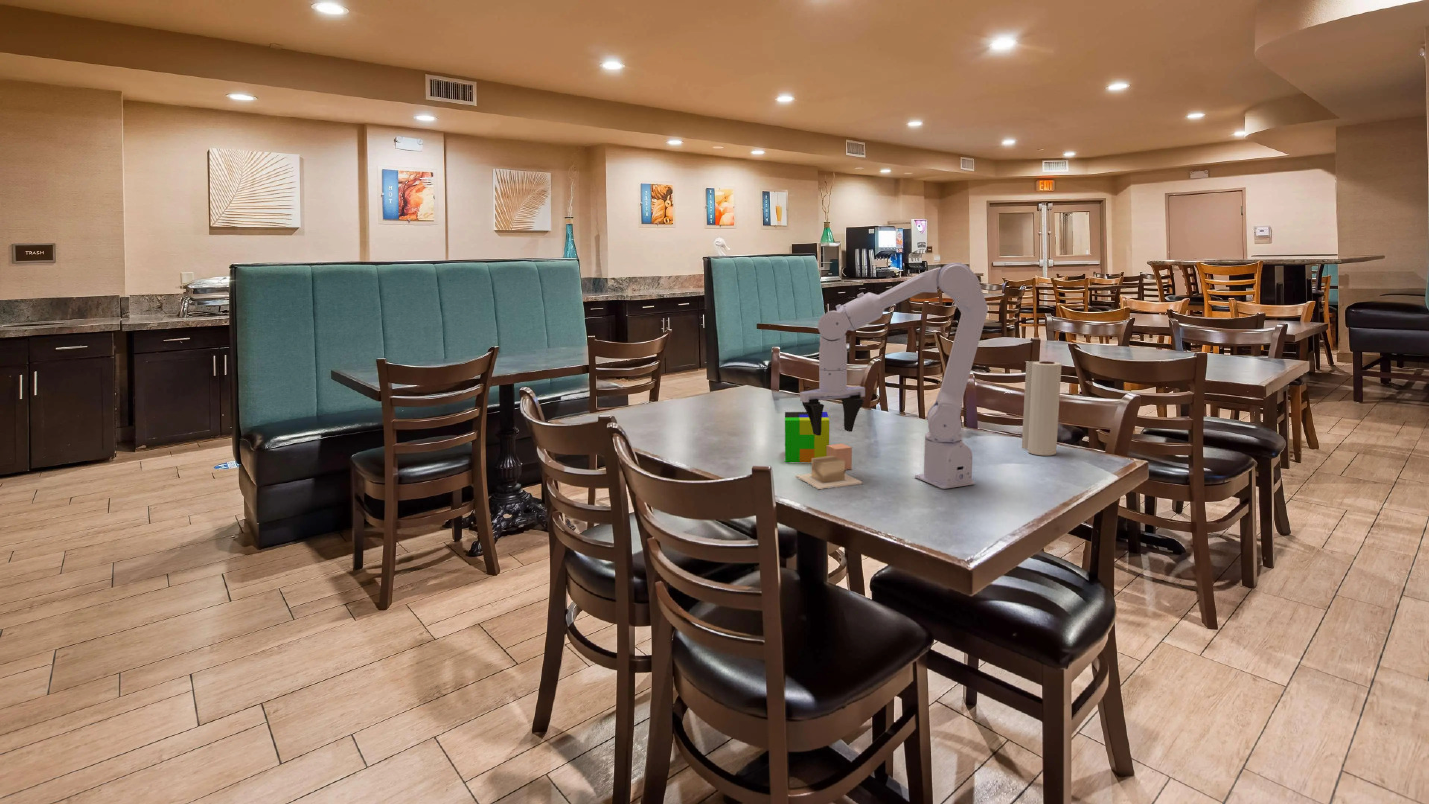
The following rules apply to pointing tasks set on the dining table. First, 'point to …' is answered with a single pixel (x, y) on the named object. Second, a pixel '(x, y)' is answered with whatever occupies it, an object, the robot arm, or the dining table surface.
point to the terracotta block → (841, 453)
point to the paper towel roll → (1041, 407)
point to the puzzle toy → (804, 437)
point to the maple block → (828, 469)
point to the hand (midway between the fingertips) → (832, 432)
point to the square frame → (820, 485)
